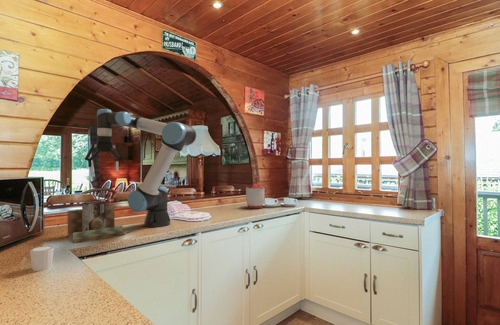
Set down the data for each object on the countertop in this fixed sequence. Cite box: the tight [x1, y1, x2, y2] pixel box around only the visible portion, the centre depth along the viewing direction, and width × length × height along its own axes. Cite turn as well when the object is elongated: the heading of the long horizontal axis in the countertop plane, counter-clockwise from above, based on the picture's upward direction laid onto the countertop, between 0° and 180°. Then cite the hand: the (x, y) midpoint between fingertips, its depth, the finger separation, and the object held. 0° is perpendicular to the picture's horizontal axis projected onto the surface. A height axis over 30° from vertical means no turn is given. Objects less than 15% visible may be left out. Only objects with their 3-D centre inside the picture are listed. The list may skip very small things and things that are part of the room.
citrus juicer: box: [245, 183, 265, 210], centre depth 228 cm, size 16×17×20 cm
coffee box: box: [81, 200, 106, 231], centre depth 144 cm, size 9×6×16 cm
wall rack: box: [66, 205, 125, 244], centre depth 143 cm, size 22×18×13 cm
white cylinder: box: [29, 245, 55, 272], centre depth 99 cm, size 7×7×7 cm
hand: (104, 172), depth 162 cm, fingers open, 13 cm apart
